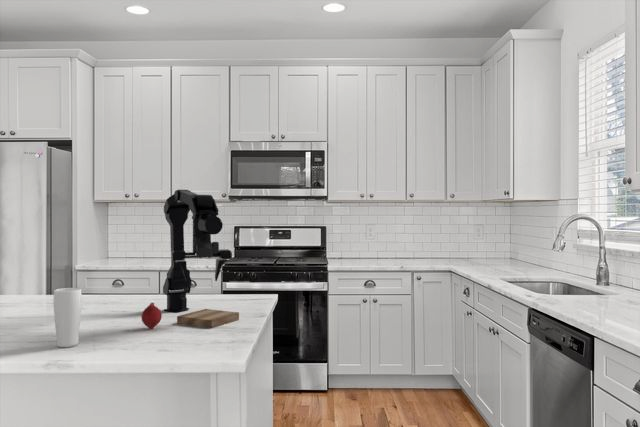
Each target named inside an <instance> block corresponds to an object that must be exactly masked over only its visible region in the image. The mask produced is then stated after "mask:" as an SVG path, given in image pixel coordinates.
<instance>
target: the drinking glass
mask: <svg viewBox="0 0 640 427" xmlns="http://www.w3.org/2000/svg"><path fill="white" fill-rule="evenodd" d="M82 296H83V295H82V288H80V287H65V288H64V287H63V288H57V289H54V290H53V300H52V302H53V315H54V324H55V336H56V337H55V338H56V341H55V342H56V346H57V347H58V348H61V349H62V348H72V347H75V346H77V345H78V344H79V342H80V327H81V315H82V314H81V313H82V305H83V304H82V302H83V300H82V298H83V297H82Z"/></svg>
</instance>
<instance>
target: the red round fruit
mask: <svg viewBox="0 0 640 427" xmlns="http://www.w3.org/2000/svg"><path fill="white" fill-rule="evenodd" d="M162 316H163V315H162V312H161V310H160V308H158V306H156V305H155V302H152V301H151V303H150V304H149V305H148V306H146V307H145V308H144V310H143V311H142V313H141V318H140V319H141V322H142V323H143V324H144V326H145V327H147V328H149V329H150V330H151V329H154V328H155V327H156V326H157V325H159V323H160V322H161V320H162Z"/></svg>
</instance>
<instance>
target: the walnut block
mask: <svg viewBox="0 0 640 427" xmlns="http://www.w3.org/2000/svg"><path fill="white" fill-rule="evenodd" d="M176 316H177V317H176V320H177V321H176V324H177V325H184V326H191V327H197V328H199V327H200V328H207V329H215V328H218V327H220V326H224V324H225V325H228V324H230V323H234V322H237V321H239V320H240V312H237V311H230V310H221V309H220V310H218V309H209V308H204V309H200V310H197V311H193V312H188V313H184V314H181V315H176Z"/></svg>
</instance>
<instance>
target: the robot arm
mask: <svg viewBox="0 0 640 427" xmlns="http://www.w3.org/2000/svg"><path fill="white" fill-rule="evenodd" d="M190 211H191V213H192V216H191V219H192V251H191V252H186V251H185V236H184V235H185V233H184V232H185V231H184V227H185V226H184V225H185V224H186V222H187V220H188V218H189V214H190ZM163 213H164V216H165V217H164V218H165V220H166V222H167V223H168V225H169V228H170V230H169V231H170V232H169V233H170V267H169V269H168V271H167V272H166V278H165V280H164V283H163V285H162V294H163V295H166V308H164V309H163V312H172V313H179V312H184V311H188V310H190V308H189V307H187V306H188V304H187V302H188V299H187V298H188V297H187V294H191V286H192V282H193V281H192V278H191V271H190V269H188V267H187V265H188V264H187V261H186V259H196V258H197V259H202V258H208V259H211V258H216V259H215V271H214V281H215V282H217V281H218V278H219V275H220V273H221V271H222V267H223V265H224V264H225V262H228V260H231V259H233V252H232V251H231V250H230V249H228V248H227V249H220V247H219V246H220V244H219V241H213V242H212V235H218V234H219V233H220V232H221V231H222V230H223V226H224V225H223V224H224V223H223V221H222V220H221V218H220V217H219V208H218V206H217V203H216V201H215V199H214V196H213V195H212V194H198V193H196V192H193V191H191V190H189V189H176V190H175V191H174V194H172V195H171V196H169V197H168V198H167V199H166V200H165V203H164V205H163Z"/></svg>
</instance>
